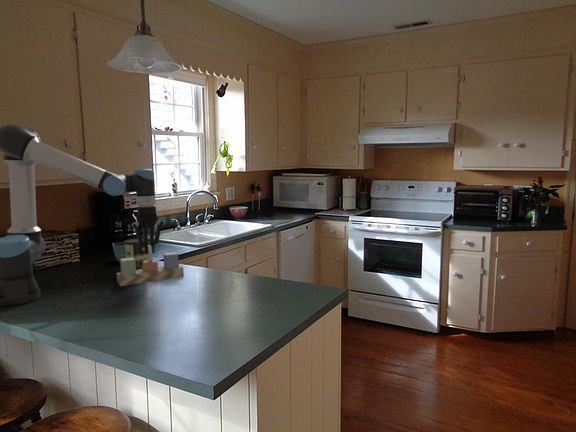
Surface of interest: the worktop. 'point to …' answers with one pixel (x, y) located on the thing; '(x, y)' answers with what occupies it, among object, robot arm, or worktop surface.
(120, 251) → the flower pot
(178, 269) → the socket rail
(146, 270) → the terracotta block
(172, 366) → the worktop surface
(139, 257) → the coffee can
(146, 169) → the robot arm
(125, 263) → the sage block
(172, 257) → the slate block
